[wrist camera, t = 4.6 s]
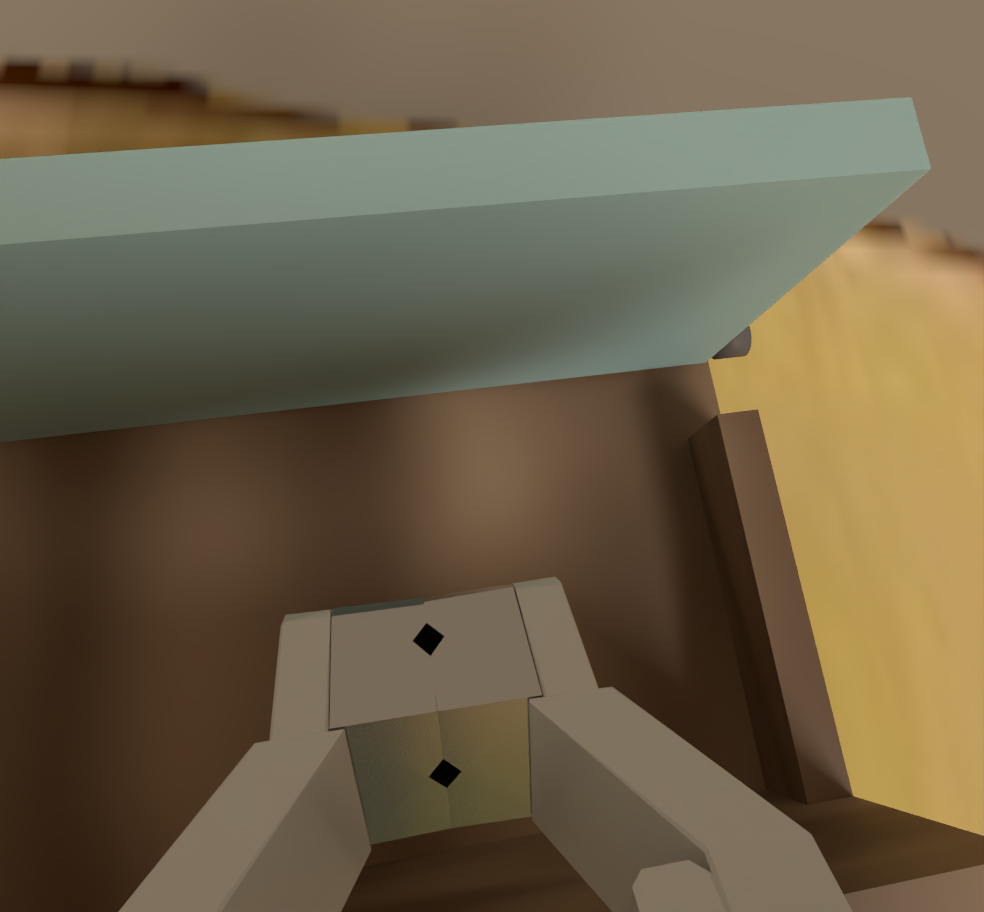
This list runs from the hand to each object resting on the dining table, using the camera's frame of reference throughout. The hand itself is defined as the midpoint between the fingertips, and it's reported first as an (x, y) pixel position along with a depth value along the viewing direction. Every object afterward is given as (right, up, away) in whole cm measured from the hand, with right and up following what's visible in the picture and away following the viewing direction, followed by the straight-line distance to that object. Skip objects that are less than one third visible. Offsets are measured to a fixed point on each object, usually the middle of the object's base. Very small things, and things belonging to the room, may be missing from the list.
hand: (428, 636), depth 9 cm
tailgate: (-3, +4, +11) cm, 12 cm away
